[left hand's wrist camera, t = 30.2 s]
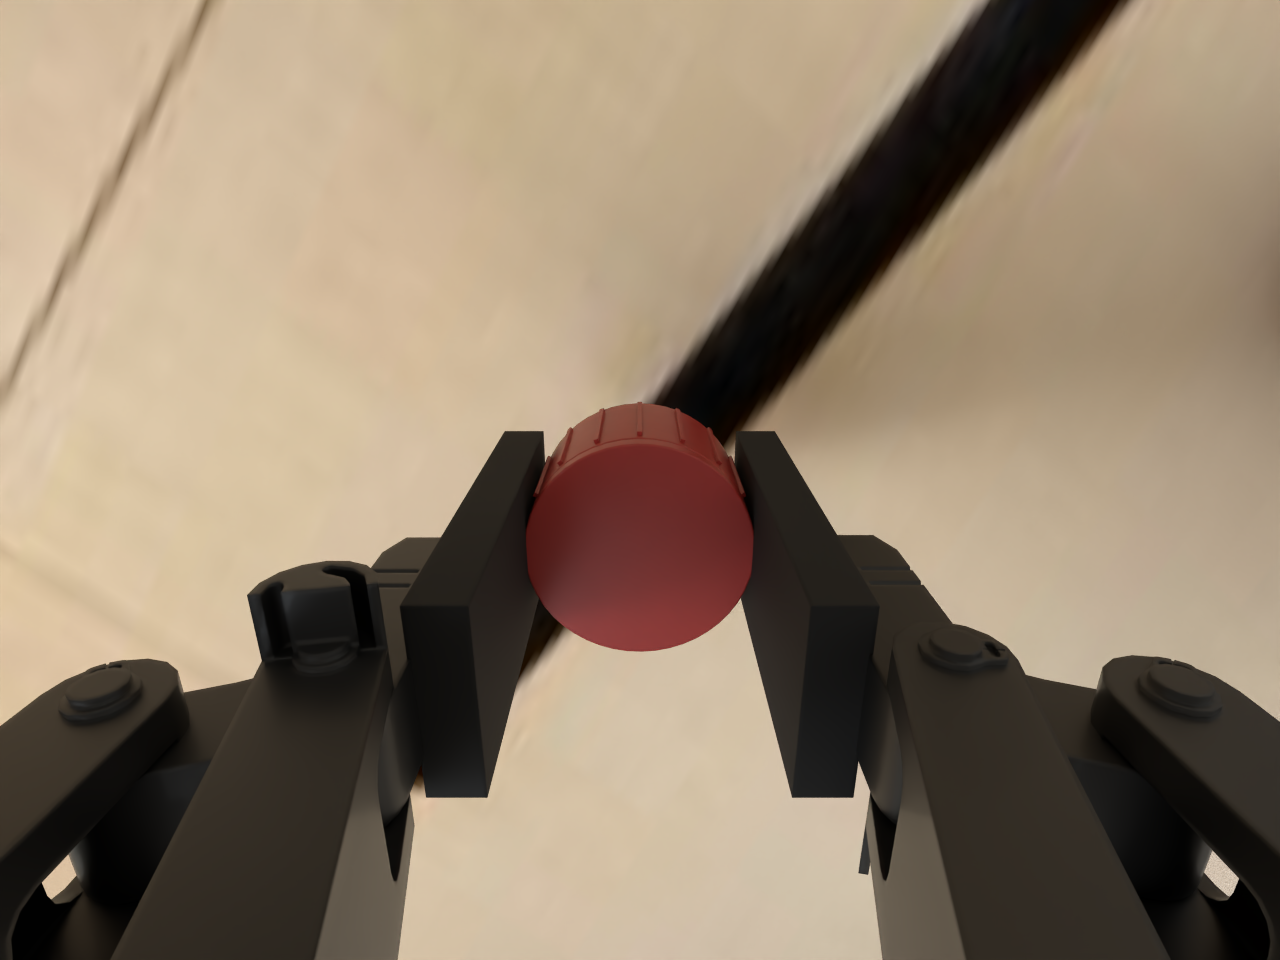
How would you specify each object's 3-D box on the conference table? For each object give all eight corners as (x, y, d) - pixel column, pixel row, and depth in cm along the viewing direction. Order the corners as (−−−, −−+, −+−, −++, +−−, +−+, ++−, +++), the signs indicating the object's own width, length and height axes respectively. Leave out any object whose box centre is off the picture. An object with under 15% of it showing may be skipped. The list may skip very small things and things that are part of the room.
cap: (575, 603, 15) (562, 676, 13) (512, 431, 14) (485, 478, 11) (757, 558, 15) (779, 625, 12) (711, 376, 13) (726, 412, 11)
